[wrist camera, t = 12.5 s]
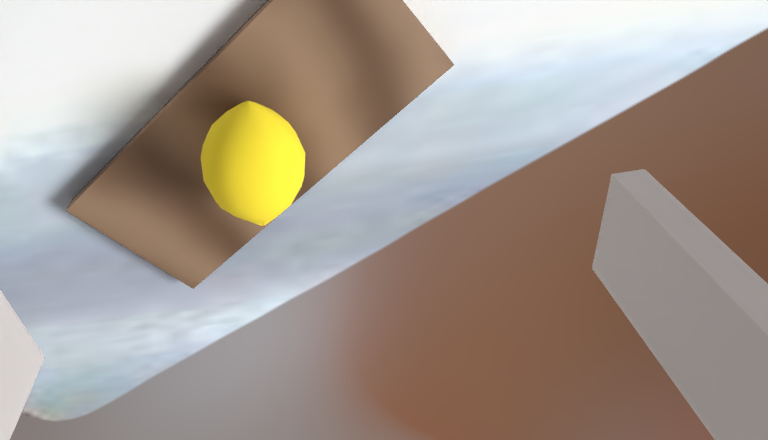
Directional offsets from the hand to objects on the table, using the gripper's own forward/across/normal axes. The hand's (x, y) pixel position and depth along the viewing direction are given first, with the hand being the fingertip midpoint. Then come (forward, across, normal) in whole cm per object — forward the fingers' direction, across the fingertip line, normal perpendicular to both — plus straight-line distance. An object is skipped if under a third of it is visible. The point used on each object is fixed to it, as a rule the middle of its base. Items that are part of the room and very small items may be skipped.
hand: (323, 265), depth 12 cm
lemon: (+20, -3, -7) cm, 21 cm away
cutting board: (+21, -3, -6) cm, 22 cm away
